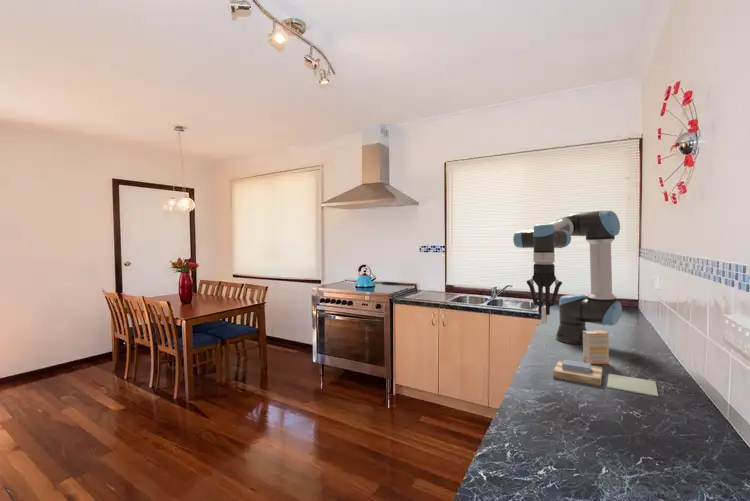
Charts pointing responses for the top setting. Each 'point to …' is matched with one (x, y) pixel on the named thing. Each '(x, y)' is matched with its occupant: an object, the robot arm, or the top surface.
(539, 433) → the top surface
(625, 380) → the mat
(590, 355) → the supplement box
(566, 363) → the blue rectangular block
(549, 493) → the top surface
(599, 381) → the board
